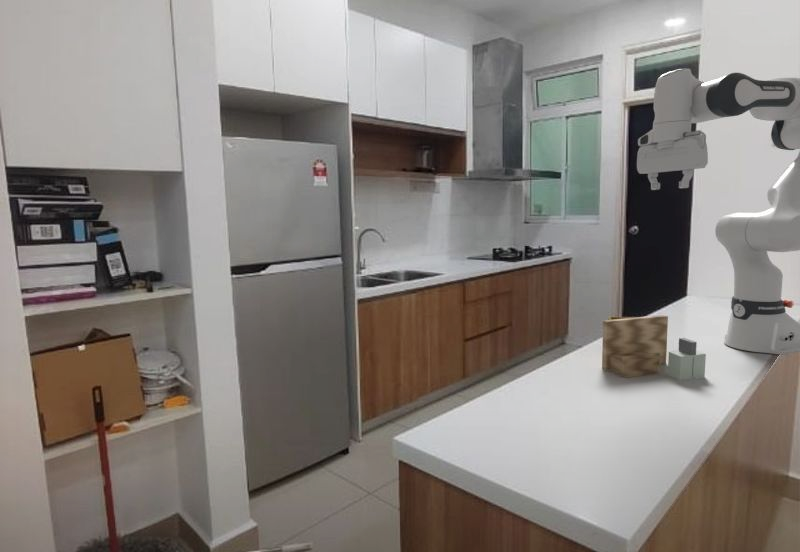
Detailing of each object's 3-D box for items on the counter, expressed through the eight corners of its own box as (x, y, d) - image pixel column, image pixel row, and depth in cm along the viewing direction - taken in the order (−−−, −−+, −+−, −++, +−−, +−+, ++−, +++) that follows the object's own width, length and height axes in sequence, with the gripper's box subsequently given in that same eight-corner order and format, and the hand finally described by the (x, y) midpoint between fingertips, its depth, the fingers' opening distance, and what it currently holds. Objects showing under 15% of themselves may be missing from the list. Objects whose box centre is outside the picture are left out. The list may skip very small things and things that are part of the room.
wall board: (661, 361, 133) (663, 314, 131) (683, 370, 125) (685, 321, 123) (602, 368, 129) (603, 320, 127) (620, 378, 122) (621, 327, 120)
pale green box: (691, 372, 124) (693, 336, 123) (704, 377, 120) (706, 341, 119) (667, 374, 123) (669, 339, 122) (680, 380, 119) (681, 343, 118)
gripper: (716, 128, 119) (713, 186, 121) (652, 140, 138) (650, 190, 140) (695, 128, 117) (692, 187, 119) (633, 140, 137) (631, 190, 139)
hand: (669, 189), depth 130 cm, fingers open, 8 cm apart
